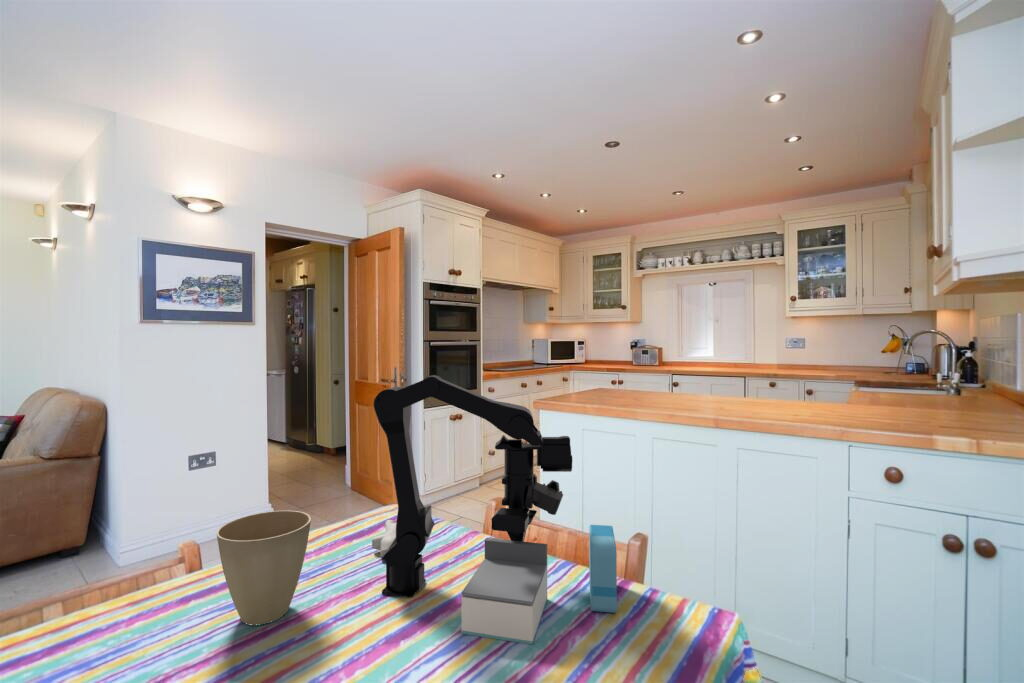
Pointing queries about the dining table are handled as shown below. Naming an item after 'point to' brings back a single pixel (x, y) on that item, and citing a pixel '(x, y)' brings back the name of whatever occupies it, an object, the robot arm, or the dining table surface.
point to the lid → (509, 571)
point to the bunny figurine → (385, 538)
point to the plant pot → (263, 562)
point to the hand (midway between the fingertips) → (518, 550)
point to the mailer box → (504, 617)
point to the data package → (602, 569)
